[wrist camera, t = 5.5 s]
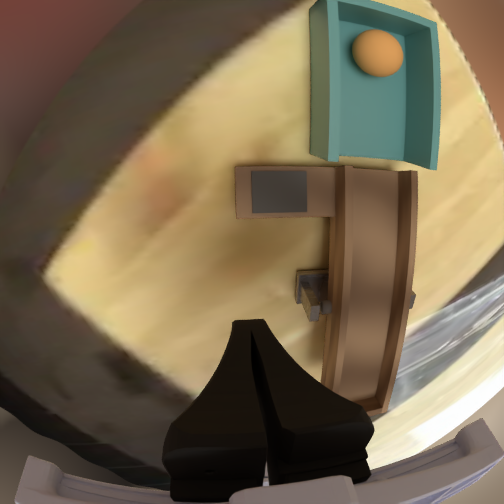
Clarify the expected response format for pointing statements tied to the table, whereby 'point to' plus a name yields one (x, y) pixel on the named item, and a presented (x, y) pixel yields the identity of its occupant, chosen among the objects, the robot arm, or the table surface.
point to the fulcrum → (317, 291)
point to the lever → (351, 263)
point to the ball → (377, 53)
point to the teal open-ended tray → (373, 86)
